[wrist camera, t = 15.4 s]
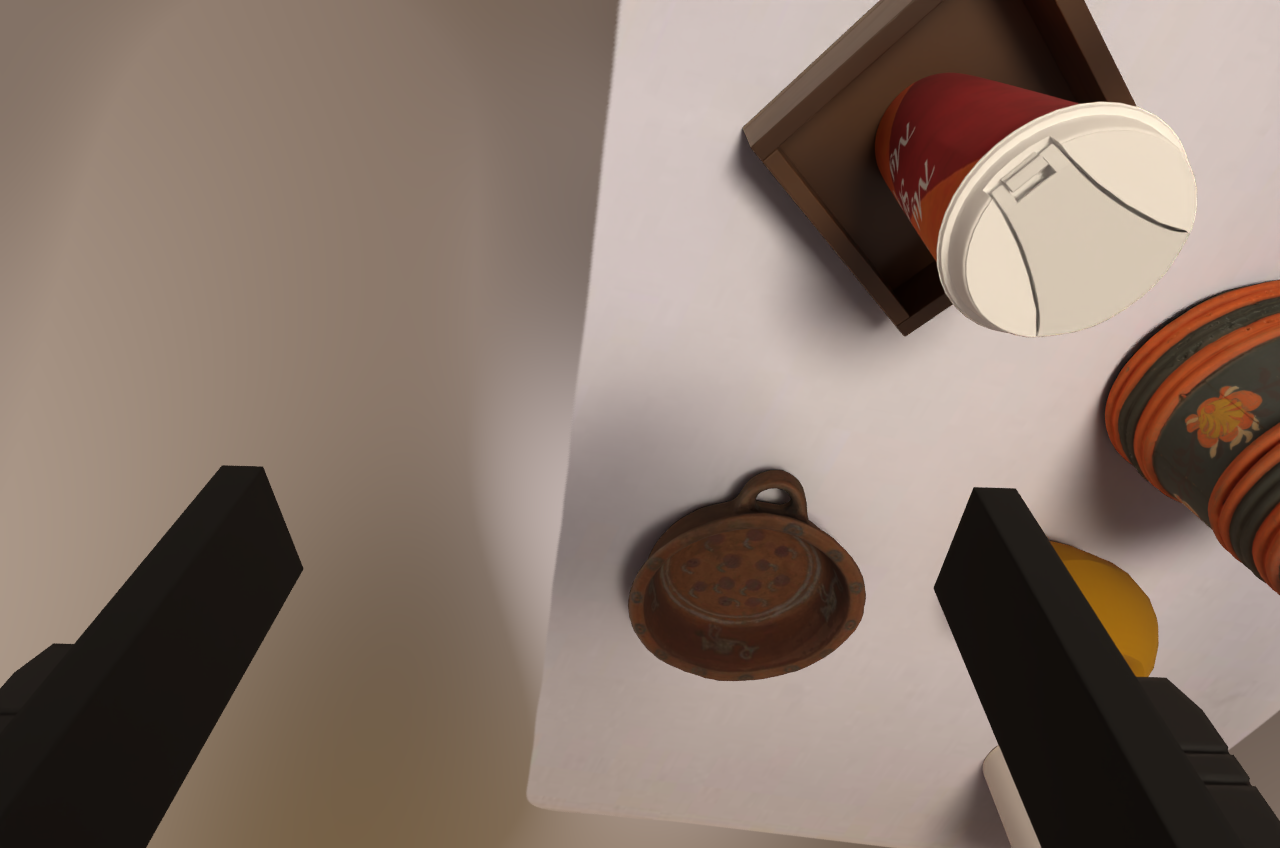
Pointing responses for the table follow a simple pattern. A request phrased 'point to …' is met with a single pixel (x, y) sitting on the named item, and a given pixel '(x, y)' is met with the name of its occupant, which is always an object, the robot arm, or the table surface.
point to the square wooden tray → (868, 83)
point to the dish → (747, 588)
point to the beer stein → (1211, 419)
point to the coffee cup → (1036, 199)
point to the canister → (1008, 802)
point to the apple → (1116, 606)
